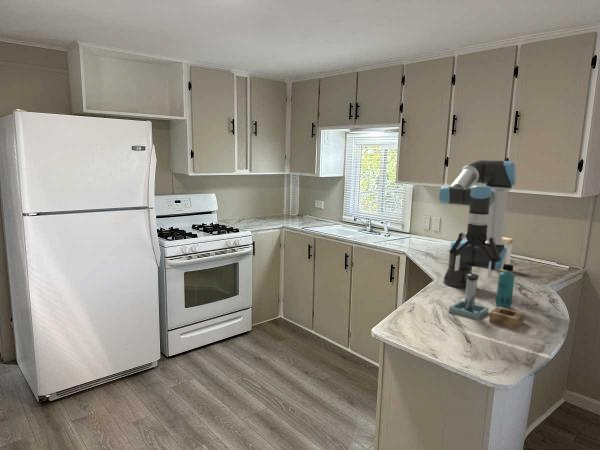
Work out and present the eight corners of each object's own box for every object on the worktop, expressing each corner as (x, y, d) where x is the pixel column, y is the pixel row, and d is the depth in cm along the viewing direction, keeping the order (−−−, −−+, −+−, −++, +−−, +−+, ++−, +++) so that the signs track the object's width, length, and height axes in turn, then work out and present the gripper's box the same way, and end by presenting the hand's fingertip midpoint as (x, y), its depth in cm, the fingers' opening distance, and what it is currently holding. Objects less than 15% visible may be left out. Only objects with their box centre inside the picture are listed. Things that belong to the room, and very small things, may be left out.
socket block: (488, 324, 170) (489, 312, 169) (497, 317, 177) (498, 306, 177) (515, 331, 163) (517, 319, 163) (523, 324, 171) (524, 312, 170)
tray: (448, 313, 180) (449, 307, 179) (460, 307, 189) (460, 300, 188) (477, 321, 172) (478, 314, 171) (487, 314, 181) (488, 307, 180)
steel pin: (460, 311, 180) (464, 274, 177) (465, 309, 183) (468, 272, 181) (472, 314, 177) (476, 277, 174) (476, 312, 180) (480, 275, 178)
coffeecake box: (479, 266, 263) (483, 235, 260) (485, 264, 267) (488, 234, 264) (504, 272, 252) (508, 239, 249) (509, 270, 256) (513, 238, 253)
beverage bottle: (497, 304, 194) (501, 261, 190) (512, 308, 189) (518, 264, 186) (492, 308, 188) (497, 264, 185) (509, 312, 184) (514, 267, 181)
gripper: (444, 220, 179) (440, 269, 183) (507, 229, 163) (501, 282, 167) (451, 218, 185) (447, 265, 189) (513, 226, 168) (507, 278, 172)
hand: (472, 273), depth 178 cm, fingers open, 13 cm apart
